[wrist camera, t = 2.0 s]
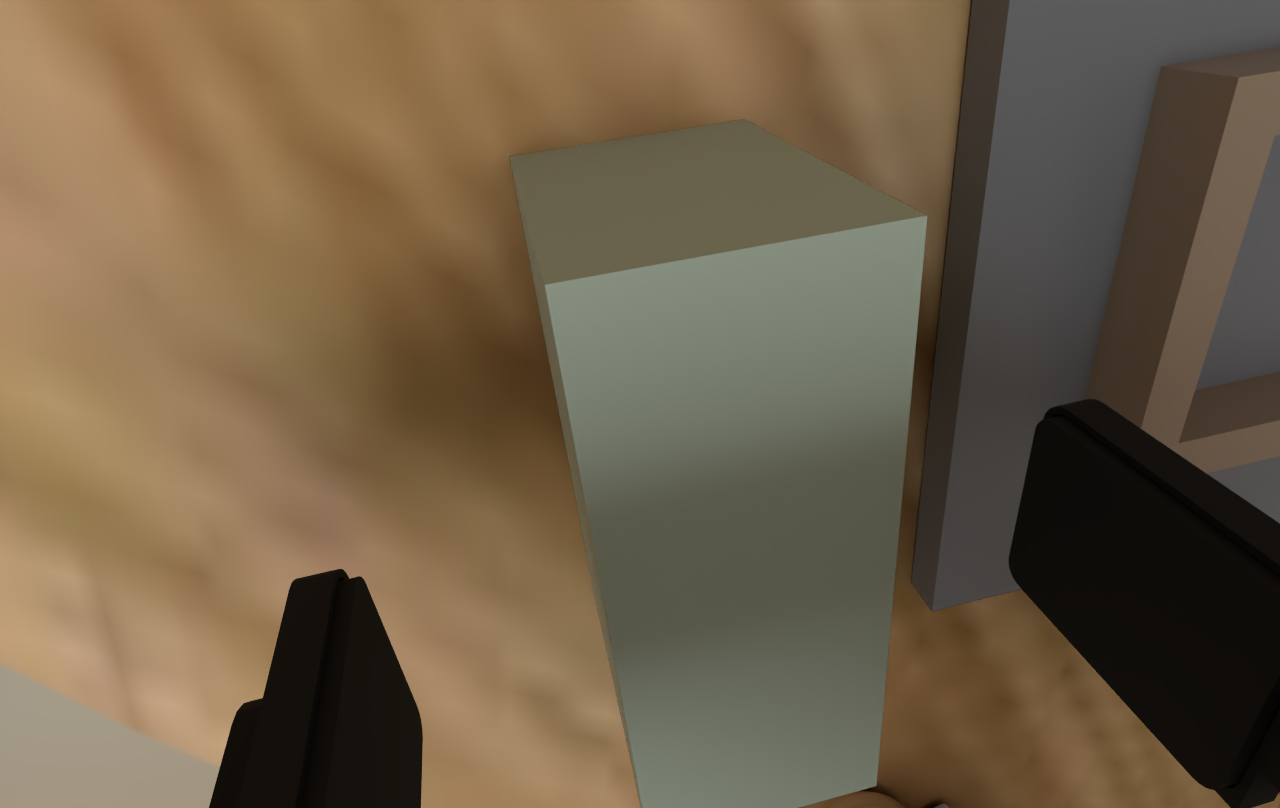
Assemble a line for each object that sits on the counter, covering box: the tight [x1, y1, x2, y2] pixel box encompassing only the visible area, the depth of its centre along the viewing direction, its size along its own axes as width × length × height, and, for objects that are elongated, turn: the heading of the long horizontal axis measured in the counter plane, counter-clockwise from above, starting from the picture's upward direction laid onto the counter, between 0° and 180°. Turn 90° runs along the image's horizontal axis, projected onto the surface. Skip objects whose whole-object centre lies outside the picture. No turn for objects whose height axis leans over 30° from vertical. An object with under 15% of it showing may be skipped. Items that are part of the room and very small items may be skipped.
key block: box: [509, 119, 927, 808], centre depth 13 cm, size 10×4×6 cm, turn 6°
